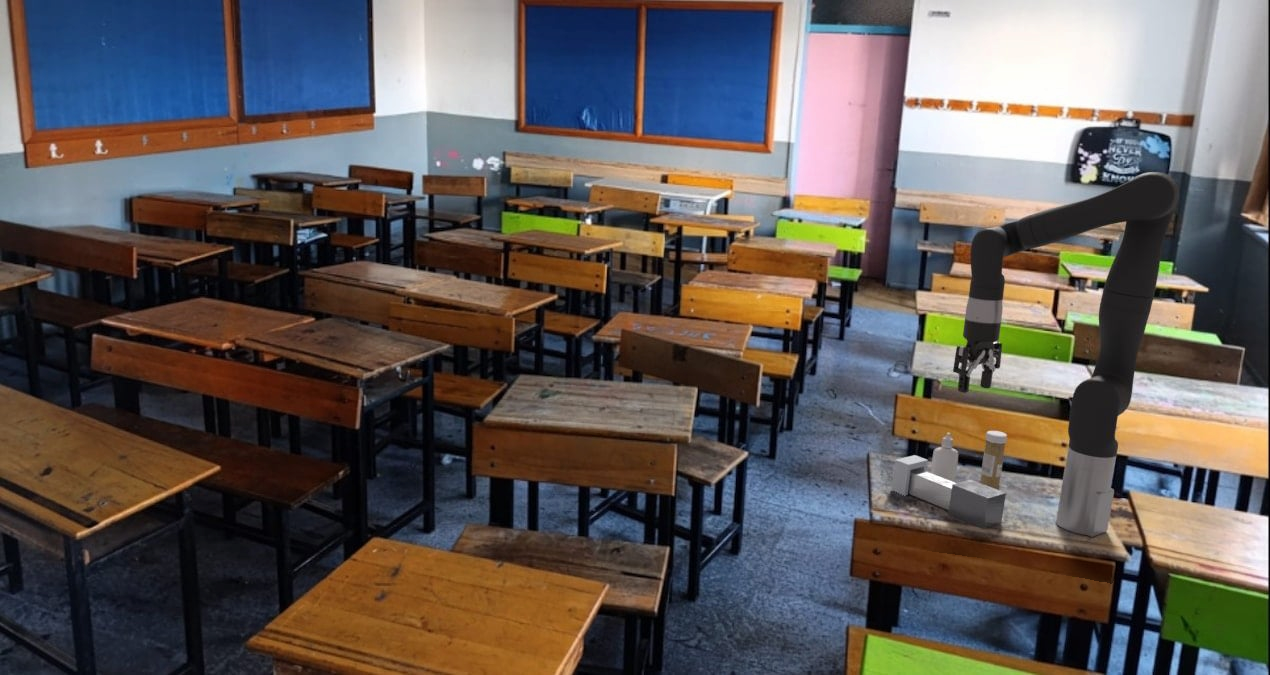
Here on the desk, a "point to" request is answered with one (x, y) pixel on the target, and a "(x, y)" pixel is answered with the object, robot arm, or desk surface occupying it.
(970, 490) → the sleeve
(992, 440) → the sprinkles bottle
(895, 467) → the socket block
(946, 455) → the eye dropper bottle
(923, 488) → the grey square post
